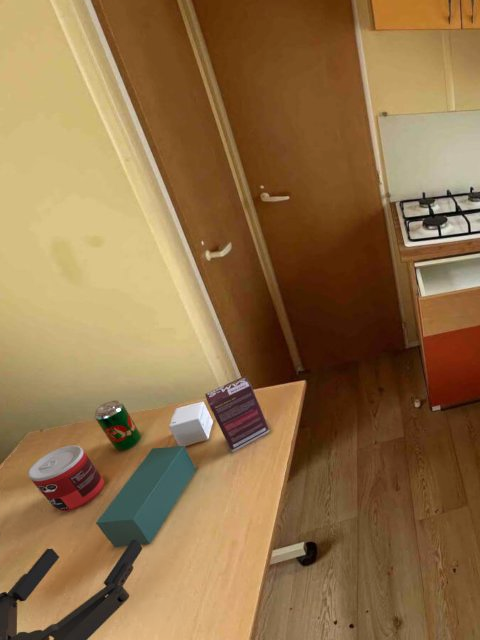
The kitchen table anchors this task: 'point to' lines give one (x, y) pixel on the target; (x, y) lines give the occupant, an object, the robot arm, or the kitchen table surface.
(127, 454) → the kitchen table surface
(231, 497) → the kitchen table surface
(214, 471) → the kitchen table surface
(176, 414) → the product box
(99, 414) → the soda can
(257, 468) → the kitchen table surface
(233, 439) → the supplement box
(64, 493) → the canned food
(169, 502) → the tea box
